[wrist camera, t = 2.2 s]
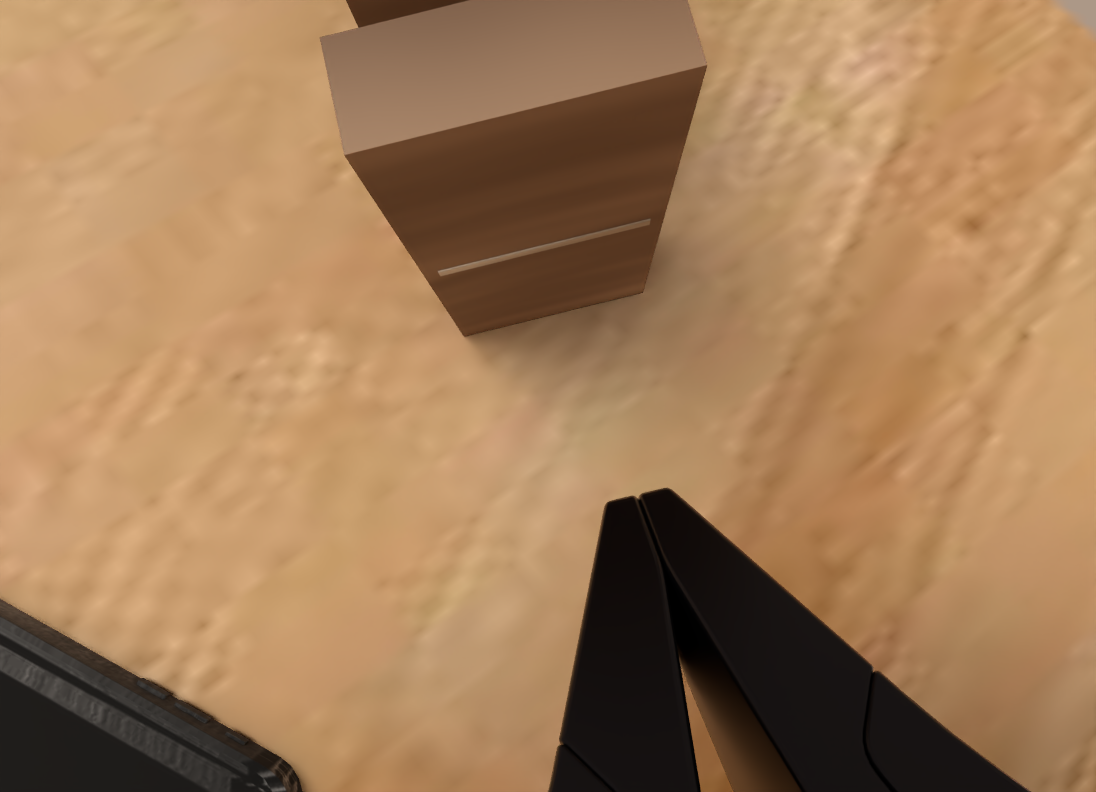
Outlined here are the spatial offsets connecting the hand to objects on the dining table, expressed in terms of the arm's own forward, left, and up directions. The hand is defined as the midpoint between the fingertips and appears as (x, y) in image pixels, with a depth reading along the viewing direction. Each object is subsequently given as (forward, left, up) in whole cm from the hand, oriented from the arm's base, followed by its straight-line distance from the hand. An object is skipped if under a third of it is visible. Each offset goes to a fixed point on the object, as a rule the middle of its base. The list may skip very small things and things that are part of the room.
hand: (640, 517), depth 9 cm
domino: (+6, -2, -9) cm, 12 cm away
